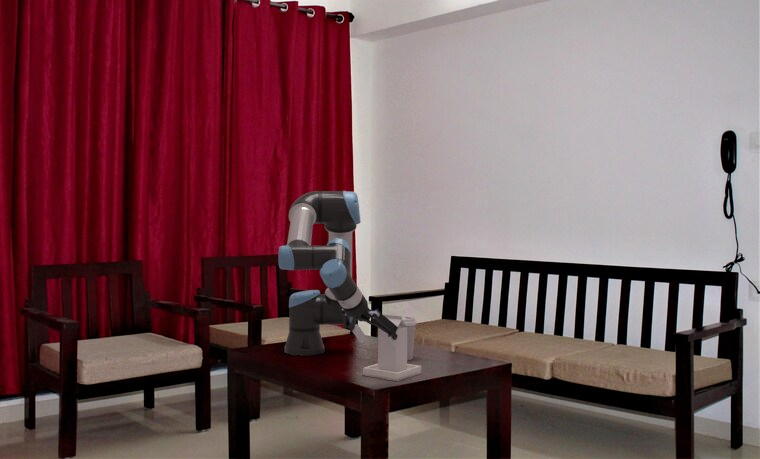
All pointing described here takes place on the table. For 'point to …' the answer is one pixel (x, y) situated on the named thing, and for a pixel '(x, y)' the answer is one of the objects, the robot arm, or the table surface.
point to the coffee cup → (410, 335)
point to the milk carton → (387, 353)
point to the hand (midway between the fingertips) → (380, 342)
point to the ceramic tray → (374, 372)
